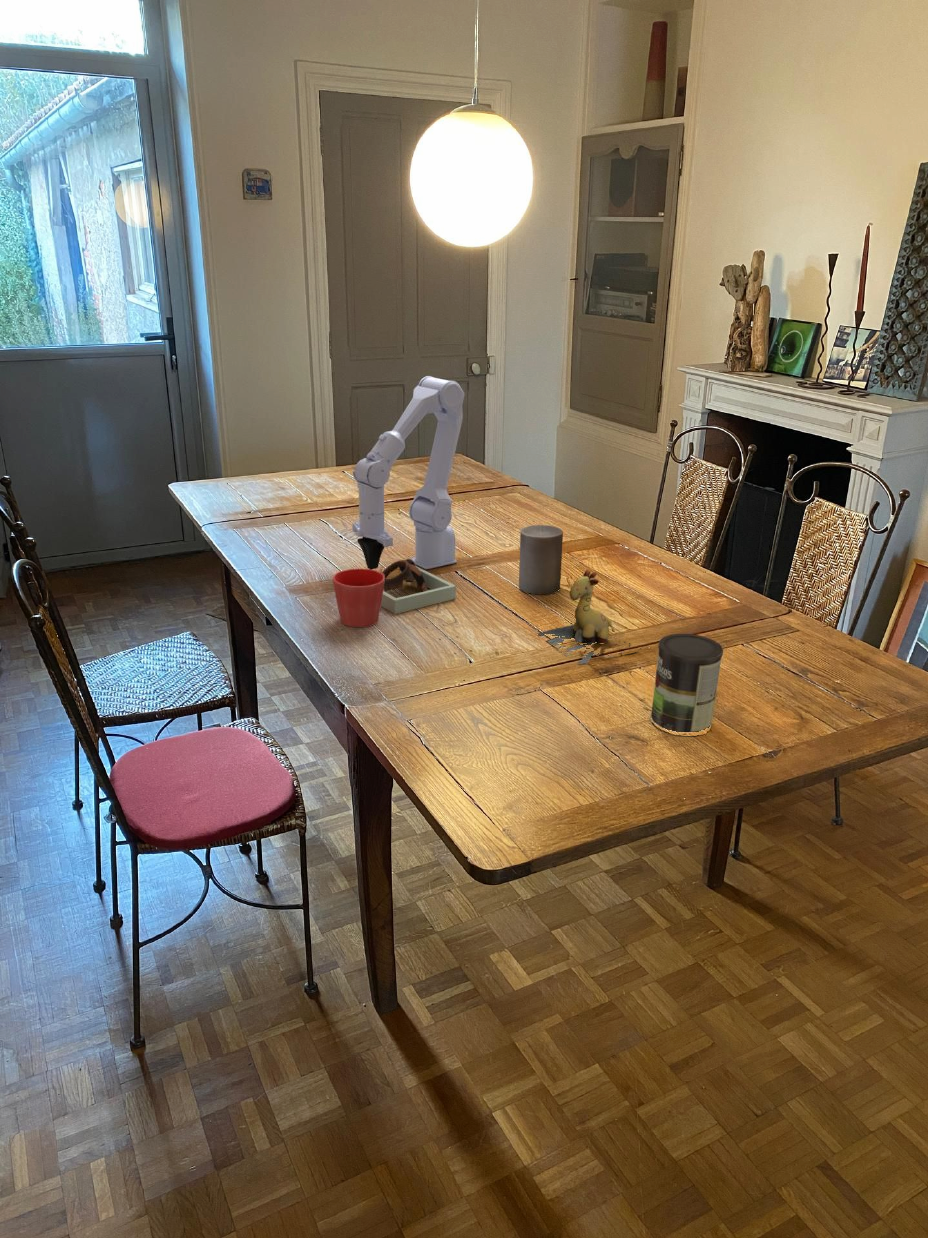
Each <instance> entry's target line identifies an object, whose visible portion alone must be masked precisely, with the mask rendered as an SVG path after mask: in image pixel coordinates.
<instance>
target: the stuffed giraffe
mask: <svg viewBox="0 0 928 1238" xmlns="http://www.w3.org/2000/svg"><path fill="white" fill-rule="evenodd" d="M596 576H597V572H596V571H593V572H592V573H591V570H590V569H586V570H585V571H584V573H582V576H580V577H578V578H577V579H576V580H575V581H574V583H573V584H572V585H571V588H570V590H569V597H570V600H571V601H573V602H574V601H577V600H578V603H577V605H576V607H575V610H574V618H575V622H574V624H572V625H566V626H562V627H555V628H553V629H549V630H546V631H543V632H537V633H536V634H538V635H537V636H538V637H541V636H544V637H545V635H543V634H555V635H552V636H558V637H555V638H550V639H551V640H550V639H548V640H549V641H547V642H548V644H549V645H551V646H552V645H558V643H563V641H564V639H571V638H574V639H575V641H576V642H578V643H587V644H583V645H580V644H579V645H578V643H577V645H578V646H576V645H574V647H572V648H567V650H568V651H565V652H573V651H570V650H577V649H580V648H582V647H586V646H585V645H591V644H592V643H595V642H597V643H607V642H608V641H609V636H610V631H609V630H610V628H611V631H612V633H615V632H616V630H615V628H614V626H613V624H612V621H611V620H610V619H609V617H608V616H606V615H605V614H604V612H603V613H602V612H601V611H600V610H598V609H595V608H591V602H592V598H593V591H594V586H596V585H598V584H599V583H600V581H599V579H597V578H596ZM609 627H610V628H609ZM559 636H560V638H559ZM562 636H565V637H562ZM562 639H563V640H562ZM575 641H574V642H575ZM576 642H575V643H576ZM563 647H566V646H563ZM560 648H561V646H560V647H559V648H555V649H557V650H558V649H560ZM562 649H563V648H562ZM586 649H590V648H586ZM593 652H594V651H591V652H589V653H587V654H588V655H584V656H583V657H582V659H581V660H579V661H578V663H577V665H578V666H579V665H583V664H588V662H589V661H590V659H592V657H591V656H593V657H594V656H595V655H593V654H594V653H593ZM564 654H566V653H564ZM564 654H563V655H564ZM567 654H568V653H567ZM569 654H570V653H569ZM598 654H599V653H598ZM598 654H597V655H596V657H598V656H599V655H598ZM564 656H565V657H567V656H569V657H571V655H564ZM585 656H586V657H585ZM608 656H609V655H608ZM601 658H602V659H606V658H605V657H601ZM609 659H613V658H612V657H610V658H609Z"/></svg>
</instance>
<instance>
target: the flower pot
mask: <svg viewBox="0 0 928 1238" xmlns="http://www.w3.org/2000/svg"><path fill="white" fill-rule="evenodd" d="M384 576H385V575H384V574H383V572H380V571H378V570H376V569H372V570H370V569H368V568H349V569H344V570H341V571H339V572H336V573H335V574H334V575H333V576H332V582H333V584H332V585H333V588H334V589H333V590H334V594H335V599H336V600H335V601H336V605H337V609H338V610H337V611H338V613H339V617H340V622H341V623H342V624H344V626H347V627H352V628H354V627H355V628H366V627H371V626H374V625H375V624H377V622H378V621H379V616H380V611H381V607H382V606H381V601H382V595H383V591H384V590H383V589H384V582H385V577H384Z"/></svg>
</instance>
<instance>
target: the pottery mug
mask: <svg viewBox="0 0 928 1238" xmlns="http://www.w3.org/2000/svg"><path fill="white" fill-rule="evenodd" d="M416 566H417V565H416V564H415V563H414V562H413V561H412V560H411V559H409V558H407V559H399V560H397V561H394V562H392V563H391V564H390V565H388V566H387V567H386V568H385V569H384V570H383V571H382V574H383V575H384V577H385V582H384V589H383V591H384V592H386V591H391V590H392V591H394V590H396V589H401V590H404V589H405V588H404V581H405V583H412V584H413V583H414V582H416V587H417V588H421V590H422V592H425V591H428V587H427V586H426V582H425V580H424V577H423V575H422V573H421V571H420V570H419V569H418V568H417V567H418V566H417V567H416ZM398 569H399V571H400V573H399V574H397V575H396V576H394V577H391V578H388V577H389V575H390V574H391V573H392V572H393V573H394V571H396V570H398ZM415 580H416V581H415Z"/></svg>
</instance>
